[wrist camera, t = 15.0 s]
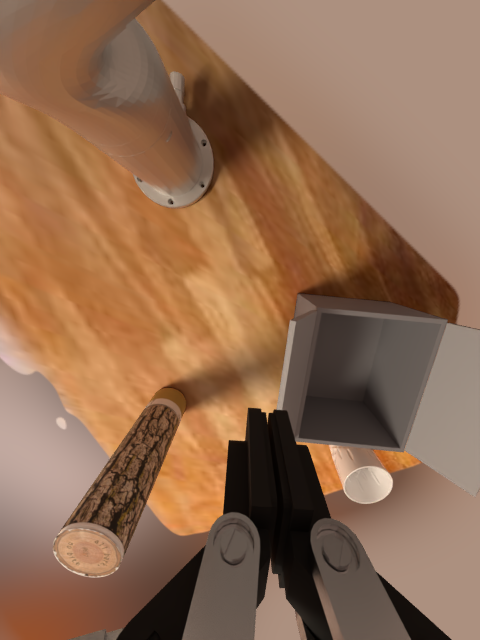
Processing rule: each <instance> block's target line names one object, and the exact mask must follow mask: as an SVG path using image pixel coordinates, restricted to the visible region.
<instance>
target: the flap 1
mask: <svg viewBox="0 0 480 640" xmlns="http://www.w3.org/2000/svg"><path fill="white" fill-rule="evenodd" d="M316 315H317V311H316V310H311V311H309V312H307V313H305V314H302V315H300V316H298V317H296V318H294V319H292V320H290V325H289V331H288V338H287V344H286V351H285V358H284V364H283V371H282V378H281V384H280V391H279V397H278V404H277V410H287V412H288V415H289V419H290V423H291V426H292V430H293V434H294V436H295V431H296V425H297V420H298V414H299V409H300V403H301V398H302V392H303V387H304V381H305V376H306V370H307V365H308V359H309V354H310V348H311V342H312V337H313V331H314V326H315V320H316Z"/></svg>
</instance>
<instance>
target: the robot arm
mask: <svg viewBox="0 0 480 640" xmlns="http://www.w3.org/2000/svg"><path fill="white" fill-rule="evenodd" d="M154 1H155V0H0V94H2V95H5V96H7V97H9V98H11V99H13V100H16V101H18V102H20V103H23V104H25V105H27V106H30V107H32V108H34V109H37V110H39V111H41V112H43V113H45V114H47V115H49V116H51V117H52V118H54V119H56V120H58V121H59V122H61V123H63V124H64V125H66V126H67V127H69V128H70V129H72V130H73V131H75V132H76V133H78V134H79V135H80V136H82V137H83V138H85V139H86V140H87V141H89V142H90V143H92V144H93V145H94V146H96V147H97V148H98V149H100V150H101V151H102V152H104V153H105V154H107V155H108V156H109V157H111V158H112V159H113V160H115V161H116V162H118V163H119V164H120V165H122V166H123V167H124V168H126V169H127V170H128V171H130V172H131V173H133V176H134V178H135V181H136V183H137V185H138V186H139V188H140V189H141V190H142V192H143V193H144V194H145V195H146V196H147V197H148V198H150V199H151V200H152V201H154V202H155V203H157V204H159V205H161V206H164V207H167V208H174V209H175V208H184V207H187V206H190V205H192V204H194V203H195V202H197V201H198V200H199V199H200V198H201V197H202V196H203V195H204V194H205V192H206V191H207V189H208V187H209V185H210V183H211V180H212V177H213V170H214V158H213V153H212V149H211V146H210V143H209V140H208V138H207V136H206V134H205V133H204V131H203V130H202V129H201V127H200V126H199V125H198V124H197V123H196V122H195V121H194V120H192V119H191V118H189V117H188V116H187V115H186V107H185V105H184V104H183V97H184V86H185V79H184V76H183V75H182V74H180V73H178V72H171V73H170V78H169V76H168V74H167V71H166V69H165V67H164V64H163V62H162V60H161V57H160V55H159V53H158V51H157V49H156V47H155V45H154V44H153V42H152V40H151V39H150V37H149V36H148V34H147V33H146V31H145V30H144V29H143V27H142V26H141V25H140V24H139V22H138V21H137V20H136V19H135V17H137V16H138V15H139V14H140V13H141V12H142V11H143V10H145V9H146V8H147V7H148V6H149V5H150V4H152V3H153V2H154ZM204 144H206V146H203V145H204ZM141 180H142V182H141ZM202 185H204V187H203V188H202V187H201V186H202ZM172 201H173V204H171V202H172ZM270 558H271V567H272V573H273V574H278V578H279V587H280V588H285V593H286V599H287V600H288V601H289V603H290V604H291V605H292V607H293V608H294V609H295V614H296V620H297V625H298V629H299V633H300V637H301V640H451V639H450V638H449V637H448V636H447V635H446V634H445V633H444V632H443V631H441V630H440V629H439V628H438V627H437V626H436V625H435V624H434V623H433V622H431V621H430V620H429V619H428V618H427V617H426V616H425V615H424V614H422V613H421V612H420V611H419V610H418V609H417V608H416V607H415V606H414V605H412V603H410V602H409V601H408V600H407V599H406V598H405V597H404V596H402V594H400V593H399V592H398V591H397V590H396V589H395V588H394V587H392V585H390V584H389V583H388V582H387V581H386V580H385V579H384V578H383V577H382V576H380V575H379V574H378V573H377V572H376V571H375V569H374V567H373V565H372V563H371V561H370V560H369V558H368V556H367V554H366V552H365V550H364V548H363V546H362V544H361V543H360V541H359V539H358V538H357V536H356V535H355V534H354V533H353V532H352V531H351V530H350V529H349V528H348V527H347V526H346V525H344V524H343V523H341V522H340V521H337V520H334V519H331V517H330V513H329V510H328V507H327V504H326V501H325V498H324V495H323V492H322V489H321V486H320V483H319V480H318V476H317V473H316V470H315V467H314V464H313V461H312V458H311V455H310V452H309V449H308V447H307V446H306V445H296V441H295V437H294V434H293V430H292V426H291V423H290V419H289V415H288V412H287V410H274V411H273V413H269V416H268V424H267V418H266V413H265V412H261V409H258V408H248V415H247V426H246V437H245V441H233V440H229V446H228V459H227V472H226V484H225V497H224V510H223V515H222V516H221V517H219V518H218V519H217V520H216V521H215V523H214V524H213V525H212V527H211V530H210V532H209V535H208V539H207V543H206V545H205V547H204V548H202V549H201V550H200V551H199V552H198V554H196V556H194V558H193V559H191V561H189V563H187V564H186V566H185V567H184V568H183V569H182V570H181V571H180V572H179V573H178V574H177V575H176V576H175V577H174V578H173V579H172V580H171V581H170V582H169V583H168V584H167V585H166V586H165V587H164V588H163V589H162V590H161V591H160V592H159V593H158V594H157V595H156V596H155V597H154V598H153V599H152V600H151V601H150V602H149V603H148V604H147V605H146V606H145V607H144V608H143V609H142V610H141V611H140V612H139V613H138V614H137V615H136V616H135V617H134V618H133V619H132V620H131V621H130V622H129V623H128V624H127V625H126V627H125V628H122V629H119V630H116V631H112V632H109V633H106V629H104V630H101V631H97V632H94V633H90V634H87V635H83V636H80V637H77V638H73V639H69V640H254V633H255V618H256V609H257V607H258V606H259V604H260V603H261V601H262V600H263V598H264V595H265V589H266V583H267V577H268V570H269V564H270Z"/></svg>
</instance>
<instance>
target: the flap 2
mask: <svg viewBox="0 0 480 640" xmlns="http://www.w3.org/2000/svg"><path fill="white" fill-rule="evenodd" d="M405 451H406V452H408V453H409V454H411V455H412V456H414V457H415V458H417V459H418V460H420V461H421V462H423V463H424V464H426V465H427V466H429V467H430V468H432V469H434V470H435V471H436V472H438V473H439V474H441V475H442V476H444V477H445V478H447V479H449V480H450V481H451V482H453V483H454V484H456V485H457V486H459V487H461V488H462V489H463V490H465V491H466V492H468V493H469V494H471V495H473V496H474V497H475V496H476V495H477V493H478V491H479V489H480V330H479V329H474V328H470V327H466V326H461V325H457V324H452V323H447V325H446V328H445V331H444V334H443V337H442V340H441V343H440V346H439V349H438V352H437V355H436V358H435V361H434V364H433V367H432V370H431V373H430V376H429V379H428V382H427V385H426V388H425V391H424V394H423V397H422V400H421V403H420V406H419V409H418V412H417V415H416V418H415V421H414V423H413V426H412V429H411V432H410V435H409V438H408V441H407V444H406V447H405Z"/></svg>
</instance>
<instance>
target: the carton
mask: <svg viewBox="0 0 480 640" xmlns="http://www.w3.org/2000/svg"><path fill="white" fill-rule="evenodd" d="M311 310H316V311H317V315H316V320H315V326H314V331H313V337H312V342H311V348H310V354H309V359H308V365H307V370H306V376H305V381H304V387H303V392H302V398H301V403H300V409H299V414H298V420H297V425H296V431H295V436H294V437H295V441H297V442H307V443H317V444H327V445H337V446H346V447H356V448H366V449H376V450H386V451H396V452H404V449H405V446H406V443H407V440H408V437H409V434H410V431H411V428H412V425H413V423H414V420H415V417H416V414H417V411H418V408H419V405H420V402H421V399H422V396H423V393H424V390H425V387H426V384H427V381H428V378H429V375H430V372H431V369H432V366H433V363H434V360H435V357H436V354H437V351H438V348H439V345H440V342H441V339H442V336H443V333H444V330H445V327H446V324H447V321H448V320H447V319H443V318H440V317H437V316H434V315H430V314H427V313H424V312H421V311H418V310H414V309H411V308H408V307H405V306H401V305H398V304H395V303H392V302H384V301H374V300H363V299H353V298H342V297H331V296H321V295H310V294H299V293H298V295H297V302H296V308H295V314H294V318H296V317H298V316H300V315H302V314H305V313H307V312H309V311H311Z"/></svg>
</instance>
